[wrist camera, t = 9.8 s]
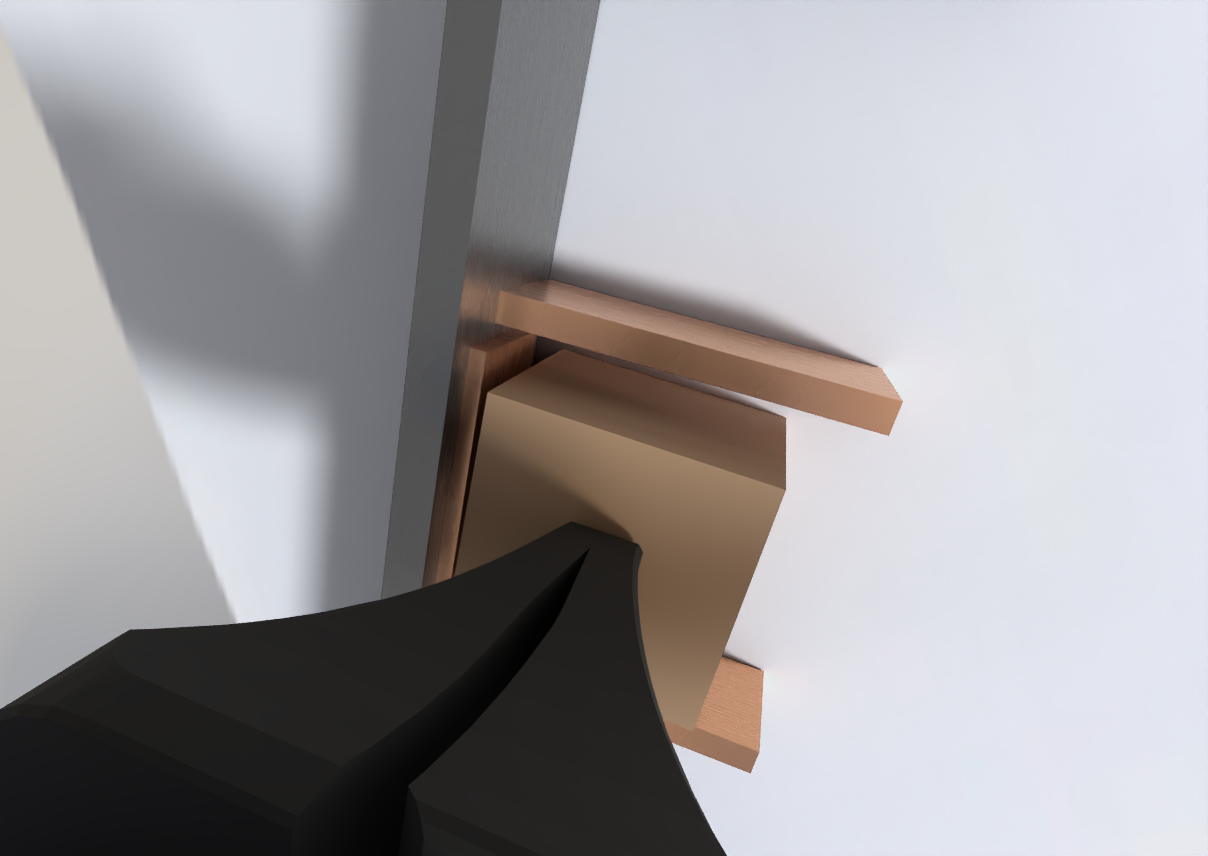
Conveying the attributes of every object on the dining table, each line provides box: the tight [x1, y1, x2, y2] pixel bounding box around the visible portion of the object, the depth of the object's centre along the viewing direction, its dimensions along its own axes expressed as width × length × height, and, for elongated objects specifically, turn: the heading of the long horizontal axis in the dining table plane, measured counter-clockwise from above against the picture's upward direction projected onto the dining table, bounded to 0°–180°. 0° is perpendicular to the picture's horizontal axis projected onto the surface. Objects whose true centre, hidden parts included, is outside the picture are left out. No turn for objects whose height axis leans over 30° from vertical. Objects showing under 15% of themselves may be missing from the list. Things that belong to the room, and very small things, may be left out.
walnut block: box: [454, 349, 786, 731], centre depth 13 cm, size 5×5×4 cm
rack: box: [381, 0, 903, 773], centre depth 13 cm, size 23×8×4 cm, turn 167°
